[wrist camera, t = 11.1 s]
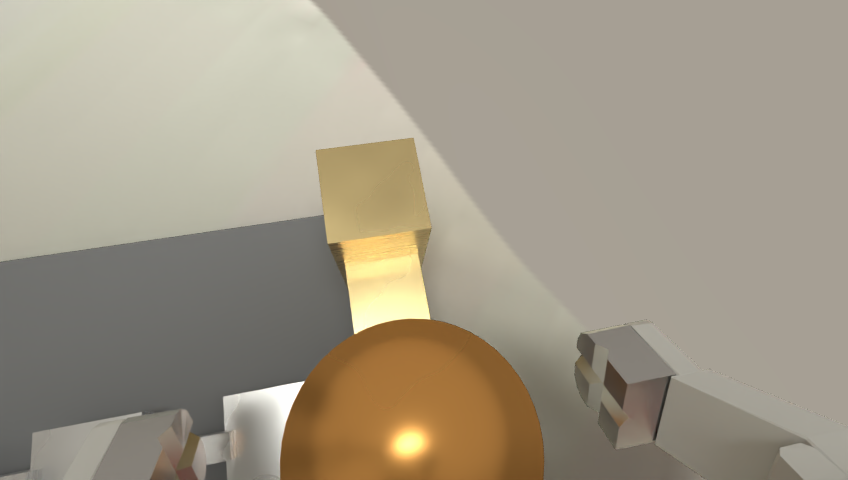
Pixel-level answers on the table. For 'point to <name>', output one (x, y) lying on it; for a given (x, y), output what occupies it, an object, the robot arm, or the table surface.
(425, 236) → the keeper hook
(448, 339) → the orange handle with bar
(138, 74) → the table surface
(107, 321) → the mat
